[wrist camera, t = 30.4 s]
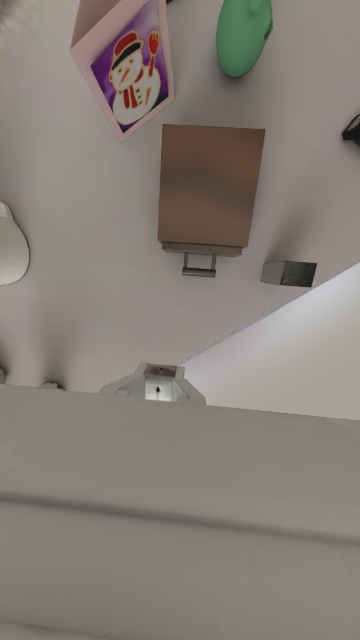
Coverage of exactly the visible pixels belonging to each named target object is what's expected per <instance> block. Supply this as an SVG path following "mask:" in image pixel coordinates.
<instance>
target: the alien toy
mask: <svg viewBox="0 0 360 640" xmlns="http://www.w3.org/2000/svg"><path fill="white" fill-rule="evenodd" d="M272 29H273V20H272V7H271V1H270V0H224V3H223V6H222V9H221V12H220V15H219V19H218V25H217V33H216V49H217V56H218V60H219V63H220V66H221V68H222V69H223V71H224V72H225V73H226V74H227V75H229V76H231V77H238V76H242V75H243V74H245V73H246V72H248V71H249V70H250V69H251V68H252V66H253V65H254V64H255V62H256V60H257V59H258V57H259V56H260V54H261V51H262V49H263V46H264V44H265V42H266V41H267V39H268V37H269V35H270V34H271V31H272Z"/></svg>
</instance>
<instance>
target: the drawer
mask: <svg viewBox="0 0 360 640" xmlns="http://www.w3.org/2000/svg"><path fill="white" fill-rule="evenodd" d="M162 249H163V250H164V251H166V252H176V253H185V258H184V267H183V269H182V275H188V276H201V277H213V278H214V277H215V274H216V270H215V263H216V256H230V257H235V256H238V255H241V252H242V247H232V246H218V245H204V244H190V243H176V242H162ZM188 253H189V254H203V255H213V257H212V266H211V269H199V268H187V263H188Z"/></svg>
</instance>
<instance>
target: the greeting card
mask: <svg viewBox="0 0 360 640" xmlns="http://www.w3.org/2000/svg"><path fill="white" fill-rule="evenodd" d="M69 51H70V53H71V54H72V56H73V58H74V60H75V62H76V64H77V65H78V67H79V69H80V71H81V73H82V74H83V76H84V78H85V80H86V82H87V83H88V85H89V87H90V89H91V91H92V92H93V94H94V96H95V98H96V100H97V101H98V103H99V105H100V107H101V109H102V110H103V112H104V114H105V116H106V118H107V119H108V121H109V123H110V125H111V127H112V128H113V130H114V132H115V134H116V136H117V137H118V139H119V141H120V143H121V142H123V141H124V140H125V139H126V138H128V137H129V136H130V135H131V134H133V133H134V132H135V131H136V130H138V129H139V128H140V127H141V126H142V125H144V124H145V123H146V122H147V121H149V120H150V119H151V118H152V117H154V116H155V115H156V114H157V113H159V112H160V111H161V110H162V109H163V108H165V107H166V106H167V105H168V104H170V103H171V102H172V101H173V100H175V94H174V83H173V73H172V62H171V51H170V41H169V30H168V19H167V9H166V0H80V2H79V7H78V12H77V17H76V21H75V26H74V31H73V35H72V40H71V45H70V50H69Z"/></svg>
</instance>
